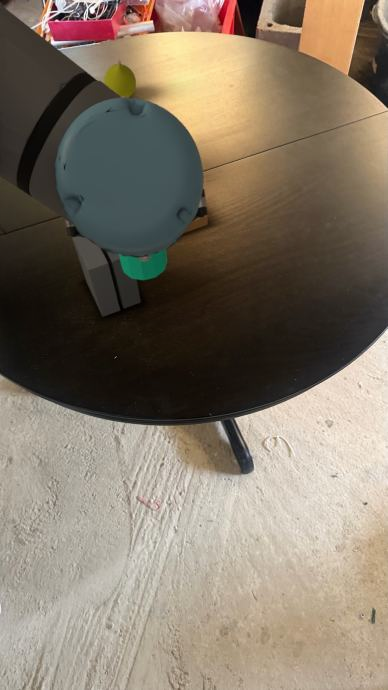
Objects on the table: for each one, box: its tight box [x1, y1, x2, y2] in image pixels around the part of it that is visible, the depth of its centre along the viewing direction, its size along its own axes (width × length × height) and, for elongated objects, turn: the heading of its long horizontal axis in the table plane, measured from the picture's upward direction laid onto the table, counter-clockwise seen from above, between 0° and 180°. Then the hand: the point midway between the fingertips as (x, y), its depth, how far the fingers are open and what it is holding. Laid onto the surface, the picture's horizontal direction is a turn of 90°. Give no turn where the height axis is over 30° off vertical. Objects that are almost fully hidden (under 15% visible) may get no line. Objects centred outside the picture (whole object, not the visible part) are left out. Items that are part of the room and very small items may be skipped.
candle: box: [119, 249, 168, 281], centre depth 56 cm, size 6×6×12 cm
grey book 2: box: [101, 248, 142, 309], centre depth 74 cm, size 8×3×11 cm, turn 26°
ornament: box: [103, 59, 137, 98], centre depth 106 cm, size 7×7×10 cm
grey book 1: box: [71, 236, 121, 318], centre depth 73 cm, size 8×3×11 cm, turn 26°
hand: (137, 222), depth 60 cm, fingers closed on candle, 5 cm apart
